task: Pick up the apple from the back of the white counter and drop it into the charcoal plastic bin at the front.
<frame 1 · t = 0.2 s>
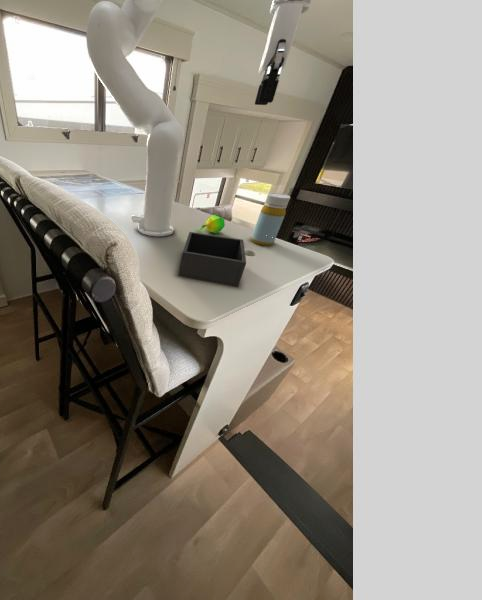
hand: (262, 103, 63), 36 cm above the breakfast bar, tool pointing down, fingers open, 9 cm apart
apple: (210, 233, 90), on the breakfast bar
bottle: (261, 242, 85), on the breakfast bar
bin: (208, 268, 68), on the breakfast bar
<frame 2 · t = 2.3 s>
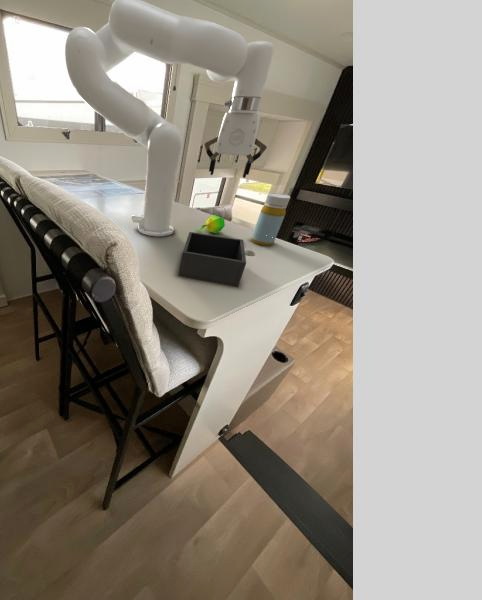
hand: (227, 175, 78), 19 cm above the breakfast bar, tool pointing down, fingers open, 9 cm apart
nothing on the breakfast bar moved.
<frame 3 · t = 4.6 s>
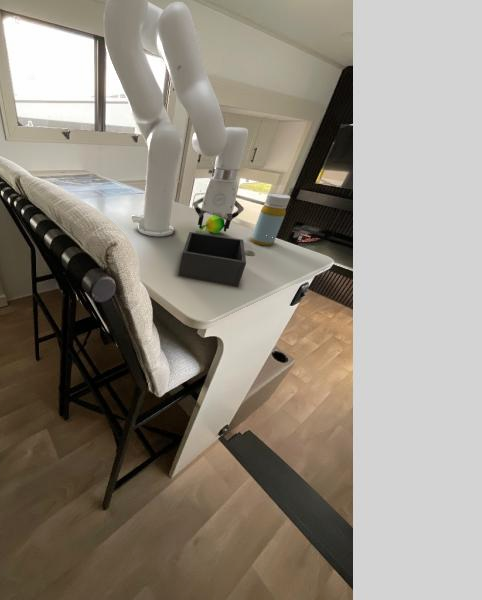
hand: (212, 228, 89), 2 cm above the breakfast bar, tool pointing down, fingers closed on apple, 8 cm apart
apple: (210, 233, 90), on the breakfast bar, touching gripper
everything else where it was.
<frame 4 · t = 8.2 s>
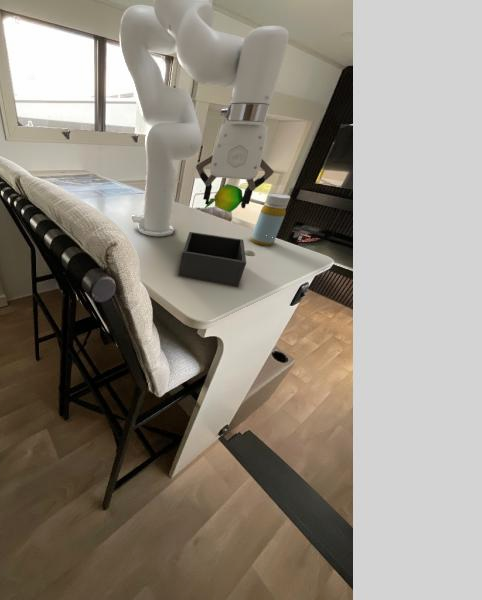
hand: (224, 204, 61), 16 cm above the breakfast bar, tool pointing down, fingers closed on apple, 8 cm apart
apple: (221, 211, 62), point 14 cm above the breakfast bar, touching gripper
everything else where it was.
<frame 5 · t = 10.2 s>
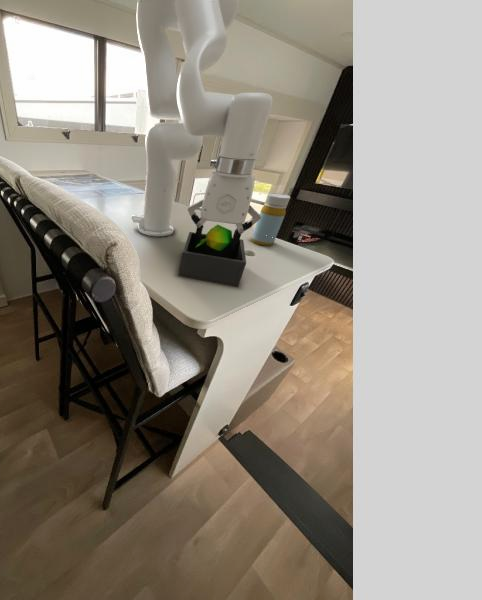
hand: (215, 243, 64), 7 cm above the breakfast bar, tool pointing down, fingers closed on apple, 8 cm apart
apple: (212, 249, 65), point 5 cm above the breakfast bar, touching gripper
everything else where it was.
when the fingers open (4 cm above the breakfast bar, at t = 11.8 s): apple drops 2 cm, resting on bin.
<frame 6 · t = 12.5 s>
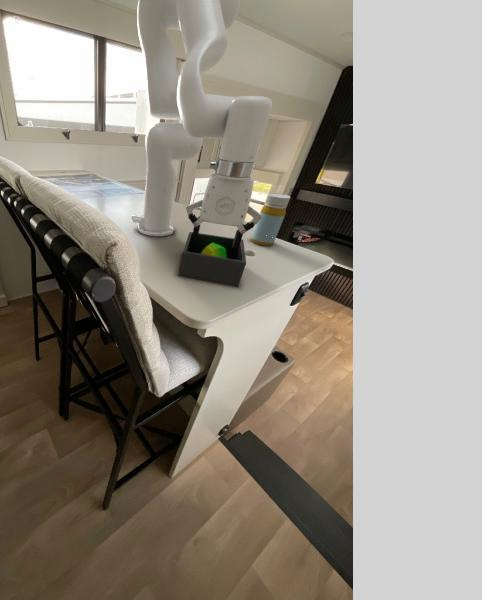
hand: (214, 243, 64), 7 cm above the breakfast bar, tool pointing down, fingers open, 9 cm apart
apple: (207, 266, 68), resting on bin
everything else where it was.
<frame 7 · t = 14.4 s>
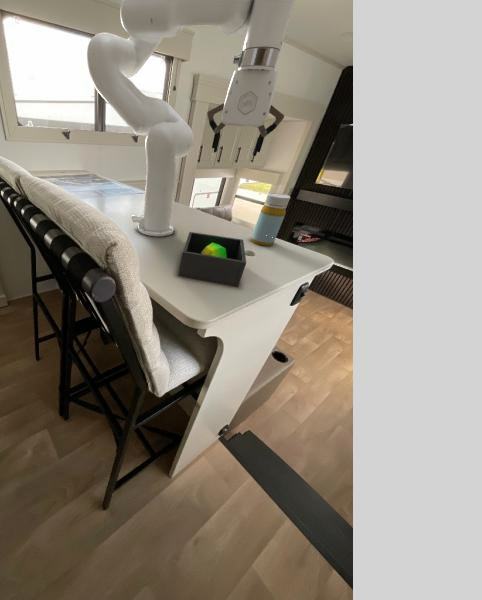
hand: (234, 153, 65), 26 cm above the breakfast bar, tool pointing down, fingers open, 9 cm apart
nothing on the breakfast bar moved.
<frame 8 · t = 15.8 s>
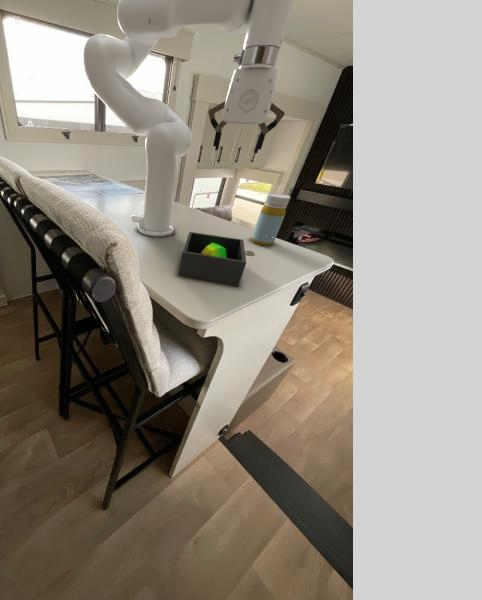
hand: (235, 151, 65), 26 cm above the breakfast bar, tool pointing down, fingers open, 9 cm apart
nothing on the breakfast bar moved.
at the end: apple inside the target area in the bin (0.4 cm from its centre), point 0.4 cm above the bin's base; the gripper is holding nothing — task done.
